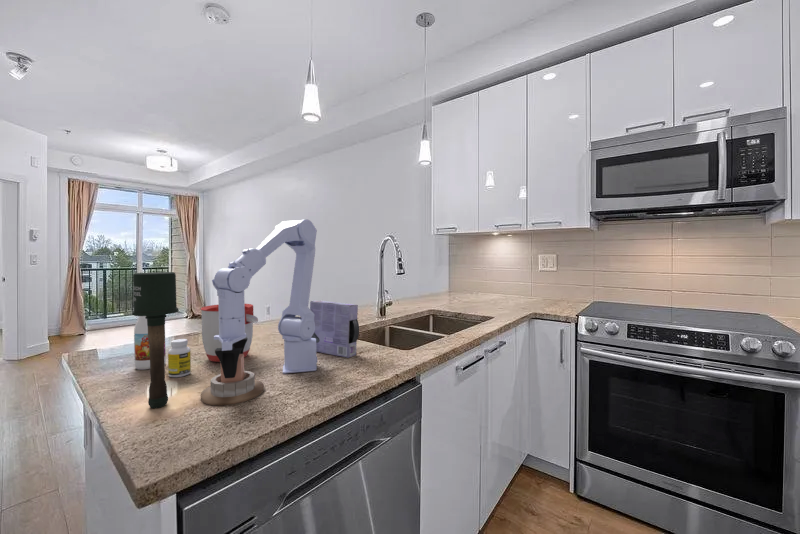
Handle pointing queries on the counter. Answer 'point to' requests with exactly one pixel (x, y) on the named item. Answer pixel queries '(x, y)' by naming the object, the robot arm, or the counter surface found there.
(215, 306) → the citrus juicer
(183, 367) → the supplement bottle
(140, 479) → the counter surface
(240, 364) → the peg
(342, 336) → the cake pan box
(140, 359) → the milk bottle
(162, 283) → the potato masher grenade
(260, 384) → the collar
